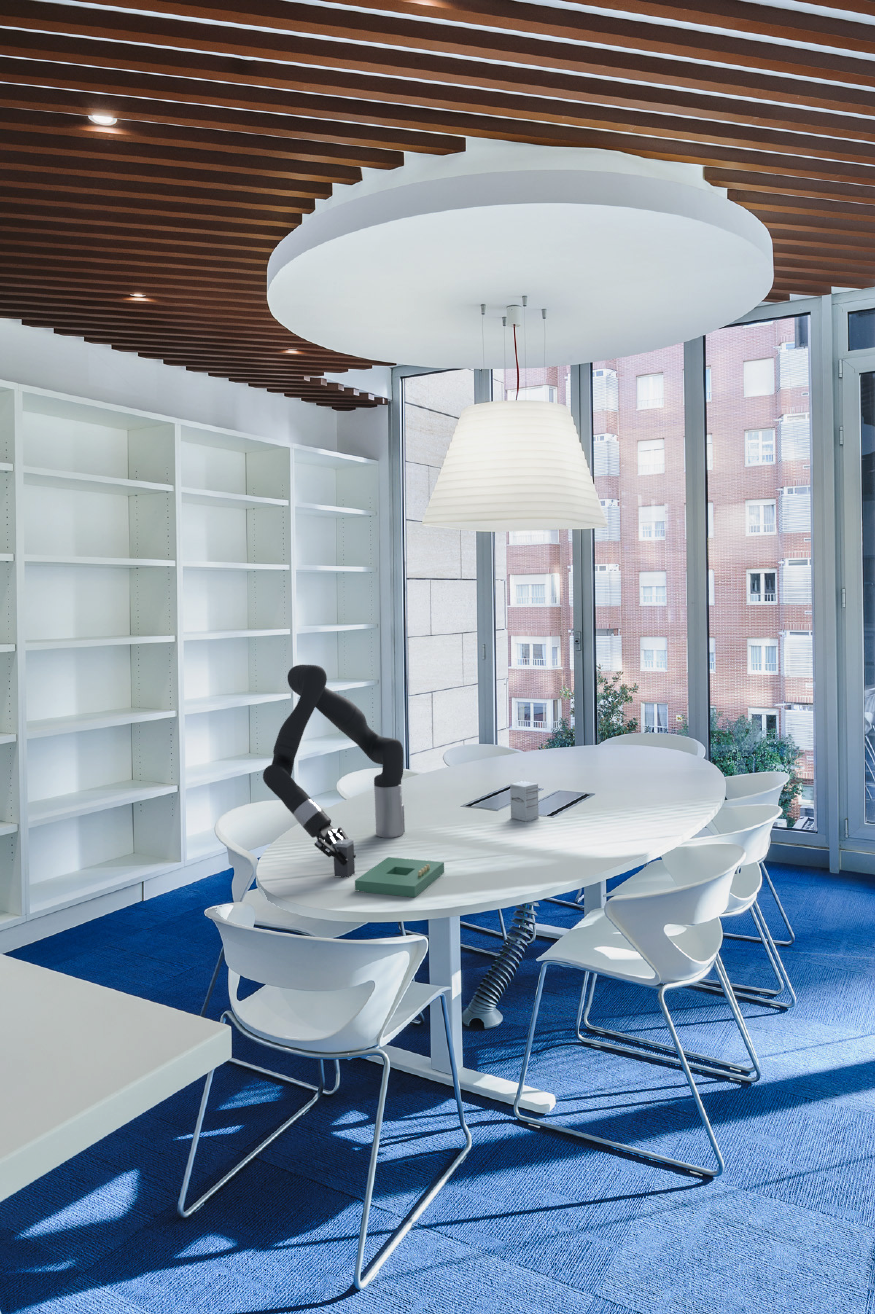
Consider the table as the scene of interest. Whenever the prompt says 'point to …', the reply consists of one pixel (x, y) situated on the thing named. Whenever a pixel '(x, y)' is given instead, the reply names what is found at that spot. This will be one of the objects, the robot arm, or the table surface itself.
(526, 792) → the supplement box
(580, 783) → the table surface
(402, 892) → the socket board
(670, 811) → the table surface
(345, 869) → the black plug
